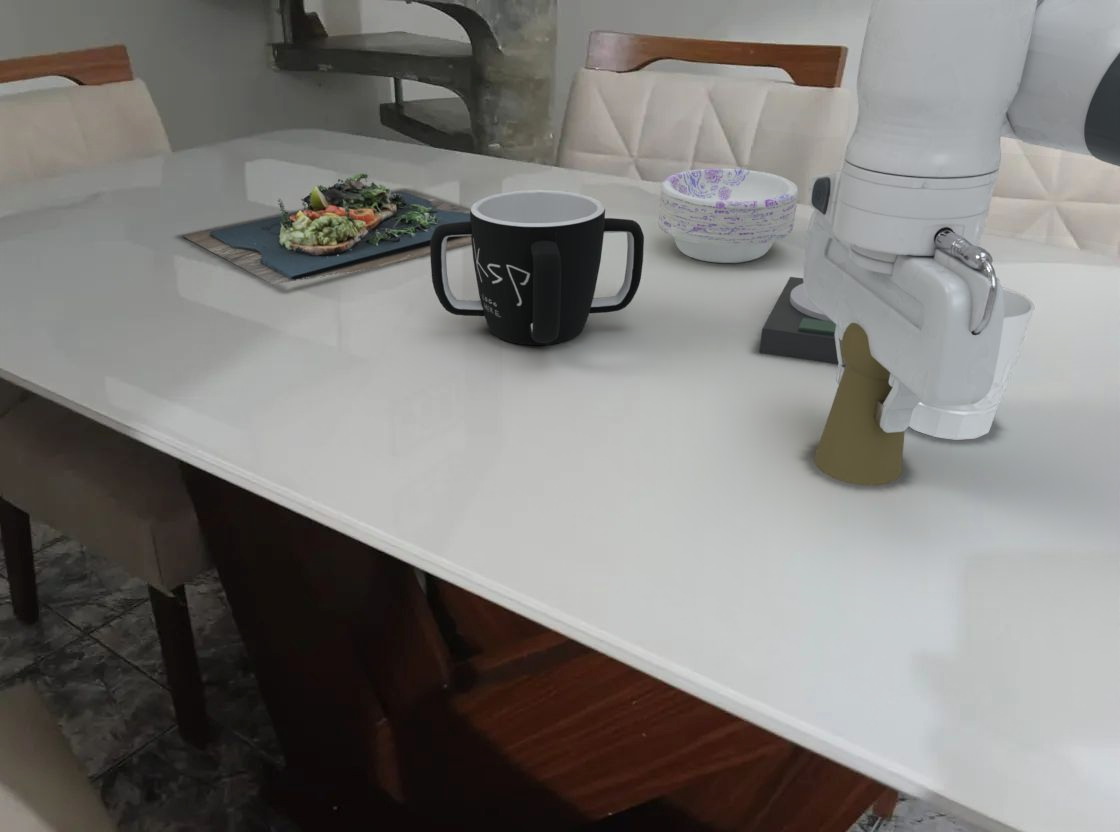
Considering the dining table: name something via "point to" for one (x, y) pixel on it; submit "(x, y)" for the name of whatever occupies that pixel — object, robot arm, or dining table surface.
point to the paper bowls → (727, 212)
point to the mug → (537, 263)
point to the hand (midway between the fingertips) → (869, 407)
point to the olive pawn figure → (859, 420)
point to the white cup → (981, 414)
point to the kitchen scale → (798, 327)
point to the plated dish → (336, 233)
